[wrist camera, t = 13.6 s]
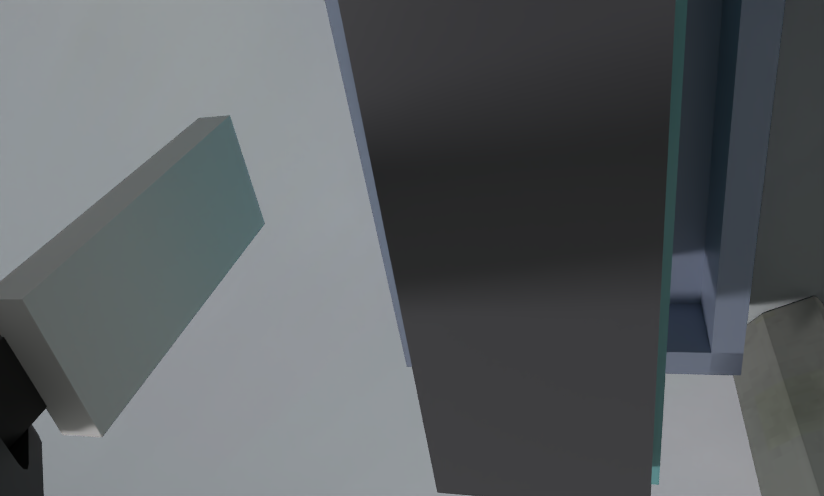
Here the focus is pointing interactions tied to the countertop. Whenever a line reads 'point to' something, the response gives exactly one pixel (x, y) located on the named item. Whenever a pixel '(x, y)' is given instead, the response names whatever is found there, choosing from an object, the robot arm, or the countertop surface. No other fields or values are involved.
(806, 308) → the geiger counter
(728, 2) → the tray
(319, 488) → the countertop surface
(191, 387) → the countertop surface
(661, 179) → the teal-edged grey panel
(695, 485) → the countertop surface
